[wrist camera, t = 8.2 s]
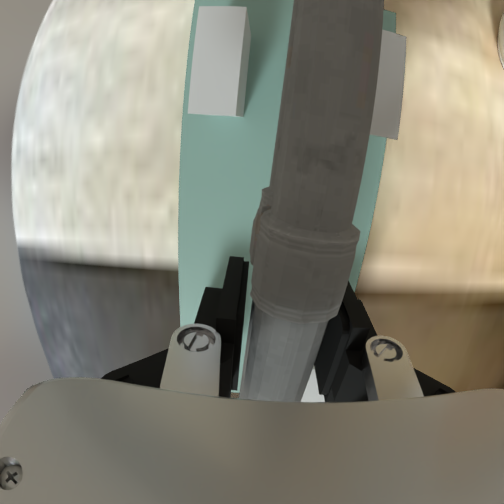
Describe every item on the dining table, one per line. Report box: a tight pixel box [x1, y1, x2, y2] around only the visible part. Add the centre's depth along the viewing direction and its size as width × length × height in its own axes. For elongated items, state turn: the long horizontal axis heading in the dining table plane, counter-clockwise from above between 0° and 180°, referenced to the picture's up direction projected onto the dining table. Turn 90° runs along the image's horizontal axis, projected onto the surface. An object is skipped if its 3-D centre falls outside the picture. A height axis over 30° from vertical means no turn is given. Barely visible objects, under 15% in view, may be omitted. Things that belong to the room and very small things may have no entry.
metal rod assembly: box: [239, 0, 384, 402], centre depth 10 cm, size 26×3×5 cm, turn 173°
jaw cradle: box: [178, 0, 406, 402], centre depth 17 cm, size 12×30×6 cm, turn 175°
